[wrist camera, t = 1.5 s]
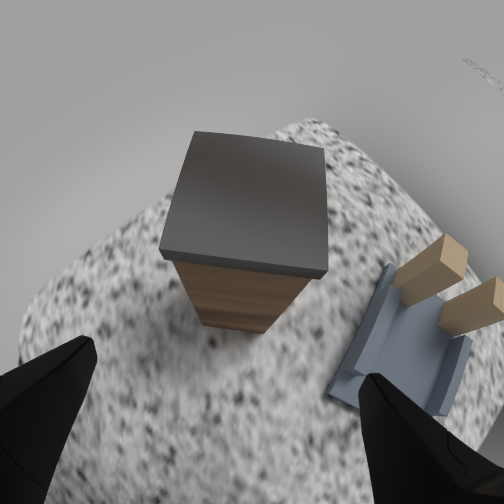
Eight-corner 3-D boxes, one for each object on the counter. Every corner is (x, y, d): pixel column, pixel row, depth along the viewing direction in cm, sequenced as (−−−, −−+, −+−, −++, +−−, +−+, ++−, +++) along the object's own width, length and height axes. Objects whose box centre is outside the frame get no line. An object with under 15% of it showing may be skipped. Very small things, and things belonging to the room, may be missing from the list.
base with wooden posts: (416, 435, 17) (480, 445, 10) (325, 392, 19) (376, 399, 12) (459, 318, 22) (517, 294, 15) (384, 267, 24) (436, 223, 16)
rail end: (266, 335, 20) (328, 270, 8) (201, 327, 20) (158, 248, 8) (271, 274, 22) (323, 148, 10) (210, 266, 22) (194, 131, 10)
